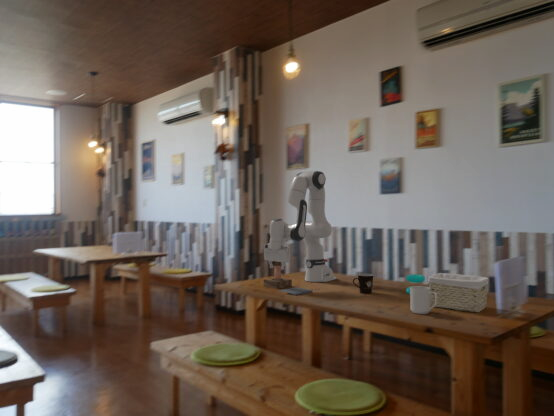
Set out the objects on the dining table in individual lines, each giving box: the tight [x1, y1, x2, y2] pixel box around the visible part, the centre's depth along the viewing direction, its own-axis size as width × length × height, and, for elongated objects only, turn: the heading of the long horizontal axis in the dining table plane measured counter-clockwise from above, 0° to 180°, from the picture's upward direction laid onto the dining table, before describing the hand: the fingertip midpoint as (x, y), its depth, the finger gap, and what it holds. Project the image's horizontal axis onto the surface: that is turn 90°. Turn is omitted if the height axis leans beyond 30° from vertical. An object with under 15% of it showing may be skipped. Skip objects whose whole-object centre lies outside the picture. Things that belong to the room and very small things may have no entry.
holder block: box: [263, 277, 293, 290], centre depth 271 cm, size 12×12×5 cm
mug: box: [409, 285, 437, 315], centre depth 204 cm, size 12×9×11 cm
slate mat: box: [277, 286, 313, 297], centre depth 257 cm, size 14×14×1 cm
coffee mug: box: [352, 273, 374, 295], centre depth 252 cm, size 12×9×10 cm
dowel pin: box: [273, 265, 282, 281], centre depth 271 cm, size 4×4×12 cm
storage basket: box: [427, 272, 490, 313], centre depth 213 cm, size 24×16×15 cm
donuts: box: [405, 273, 426, 295], centre depth 247 cm, size 10×10×10 cm
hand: (276, 268), depth 271 cm, fingers open, 8 cm apart
